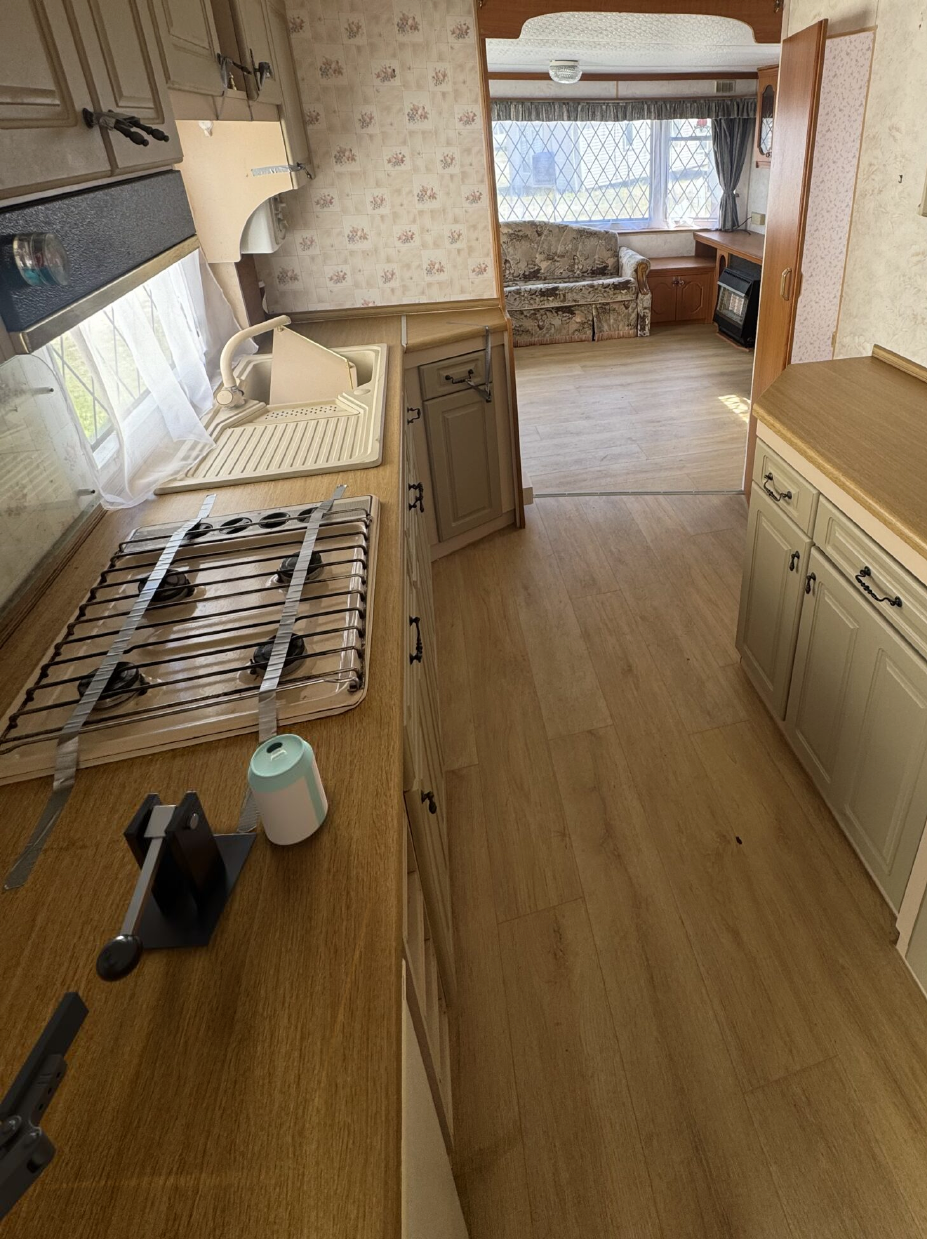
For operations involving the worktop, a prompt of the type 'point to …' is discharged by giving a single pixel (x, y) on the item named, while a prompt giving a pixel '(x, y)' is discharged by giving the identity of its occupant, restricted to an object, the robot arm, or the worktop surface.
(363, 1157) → the worktop surface
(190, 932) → the lever stand
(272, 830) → the can
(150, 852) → the tap lever
